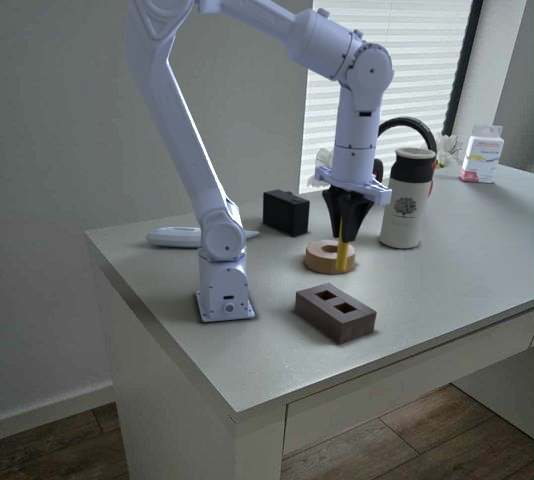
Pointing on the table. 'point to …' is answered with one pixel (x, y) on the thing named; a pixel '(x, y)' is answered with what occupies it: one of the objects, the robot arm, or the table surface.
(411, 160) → the travel mug
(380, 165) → the headphones
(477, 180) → the ink cartridge box
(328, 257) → the tape roll
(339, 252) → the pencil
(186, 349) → the table surface
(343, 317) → the pencil stand
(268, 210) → the digital camera
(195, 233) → the spaceship
